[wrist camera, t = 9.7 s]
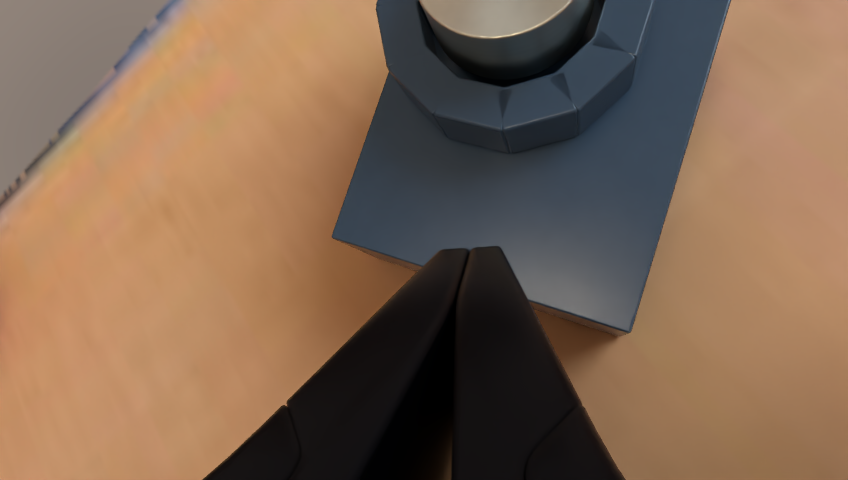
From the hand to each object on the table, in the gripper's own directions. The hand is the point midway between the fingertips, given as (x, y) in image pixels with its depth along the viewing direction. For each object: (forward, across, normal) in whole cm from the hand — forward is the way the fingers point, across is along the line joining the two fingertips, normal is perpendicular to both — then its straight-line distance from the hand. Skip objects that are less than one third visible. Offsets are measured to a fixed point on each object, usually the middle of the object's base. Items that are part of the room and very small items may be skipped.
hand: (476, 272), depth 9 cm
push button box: (+13, 0, +6) cm, 14 cm away
